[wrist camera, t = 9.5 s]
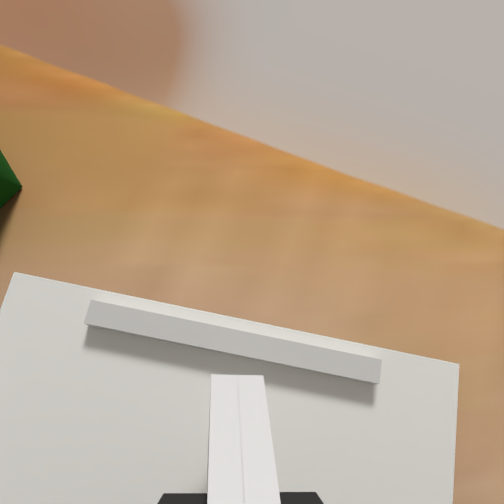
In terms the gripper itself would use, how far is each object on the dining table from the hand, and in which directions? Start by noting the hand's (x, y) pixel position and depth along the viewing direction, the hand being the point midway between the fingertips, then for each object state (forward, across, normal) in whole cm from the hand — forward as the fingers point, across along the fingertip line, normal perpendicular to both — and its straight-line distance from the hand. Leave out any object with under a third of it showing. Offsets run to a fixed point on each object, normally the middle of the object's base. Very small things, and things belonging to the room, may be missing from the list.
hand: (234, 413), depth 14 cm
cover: (+2, 0, -2) cm, 3 cm away
